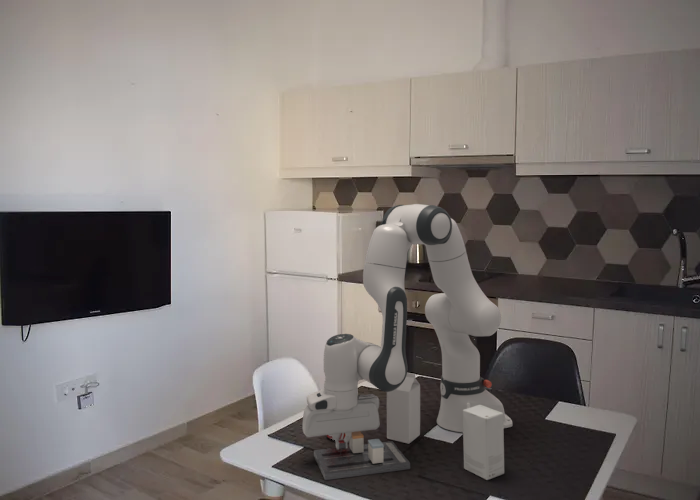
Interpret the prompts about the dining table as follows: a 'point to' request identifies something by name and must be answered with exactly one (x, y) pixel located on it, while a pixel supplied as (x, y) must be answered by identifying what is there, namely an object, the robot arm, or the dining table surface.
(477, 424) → the skincare box
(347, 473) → the console
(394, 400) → the milk carton
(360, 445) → the fader
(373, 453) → the fader
